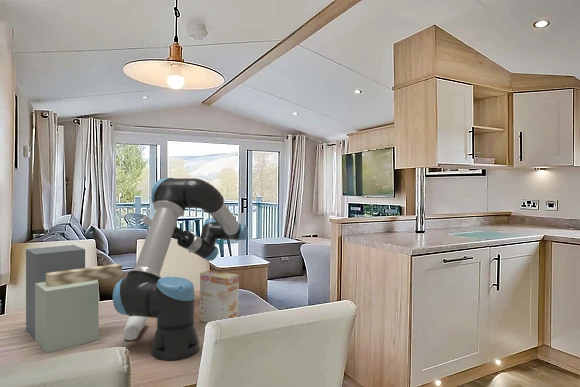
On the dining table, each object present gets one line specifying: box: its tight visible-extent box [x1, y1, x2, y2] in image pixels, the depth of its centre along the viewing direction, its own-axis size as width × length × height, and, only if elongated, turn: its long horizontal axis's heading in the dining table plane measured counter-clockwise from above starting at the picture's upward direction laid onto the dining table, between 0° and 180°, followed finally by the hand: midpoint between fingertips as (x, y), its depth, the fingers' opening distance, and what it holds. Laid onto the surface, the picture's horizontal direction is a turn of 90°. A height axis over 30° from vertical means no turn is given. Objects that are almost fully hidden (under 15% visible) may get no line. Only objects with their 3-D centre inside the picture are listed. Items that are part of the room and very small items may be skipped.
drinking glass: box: [122, 315, 149, 341], centre depth 142 cm, size 7×7×15 cm
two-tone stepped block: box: [25, 244, 100, 354], centre depth 139 cm, size 16×28×30 cm, turn 45°
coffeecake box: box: [199, 269, 240, 324], centre depth 154 cm, size 15×7×20 cm, turn 57°
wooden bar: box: [46, 263, 123, 287], centre depth 139 cm, size 24×4×4 cm, turn 135°
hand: (150, 219), depth 162 cm, fingers open, 13 cm apart
